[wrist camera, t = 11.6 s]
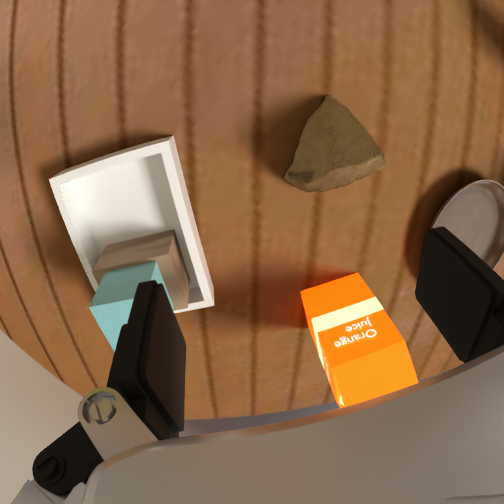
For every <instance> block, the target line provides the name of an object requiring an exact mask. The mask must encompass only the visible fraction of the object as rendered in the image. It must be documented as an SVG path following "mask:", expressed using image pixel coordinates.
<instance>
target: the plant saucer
mask: <svg viewBox="0 0 504 504" xmlns="http://www.w3.org/2000/svg"><path fill="white" fill-rule="evenodd" d="M441 226H443V227H445V228H447V229H448V230H449V231H450V232H451V233H452V234H454V235H455V236H456V237H457V238H458V239H459V240H461V241H462V242H463V243H464V244H465V245H466V246H467V247H469V248H470V249H471V250H472V251H473V252H474V253H475V254H476V255H478V256H479V257H480V258H481V259H482V260H483V261H484V262H485V263H486V264H487V265H488V266H489V267H490V268H491V269H494V268H495V267H496V265H497V264H498V262H499V260H500V259H501V257H502V255H503V253H504V187H503V186H502V185H501V184H499V183H498V182H496V181H493V180H487V179H486V180H478V181H475V182H472V183H469V184H467V185H465V186H463V187H462V188H460V189H459V190H457V191H456V192H455V193H453V194H452V195H451V196H450V197H449V198H448V199H447V200H446V202H445V203H444V204H443V205H442V207H441V208H440V209H439V211H438V212H437V214H436V216H435V217H434V219H433V221H432V224H431V226H430V228H429V229H431V228H436V227H441Z"/></svg>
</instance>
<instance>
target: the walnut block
mask: <svg viewBox="0 0 504 504" xmlns="http://www.w3.org/2000/svg"><path fill="white" fill-rule="evenodd" d="M154 261H156V262H157V265H158V267H159V270H160V273H161V275H162V278H163V281H164V283H165V286H166V288H167V291H168V293H169V296H170V298H171V301H172V303H173V306H174V310H173V311H175V310H180V309H185V308H188V298H189V285H190V277H189V274H188V271H187V268H186V265H185V262H184V259H183V255H182V252H181V249H180V246H179V243H178V239H177V236H176V233H175V230H174V229H173V230H169V231H164V232H160V233H156V234H152V235H147V236H143V237H139V238H135V239H131V240H127V241H123V242H119V243H115V244H111V245H107V246H106V247H105V249H104V250H103V252H102V254H101V256H100V257H99V259H98V261H97V263H96V264H95V266H94V268H93V270H92V273H93V275H94V277H95V280H96V282H97V284H98V286H99V284H100V282H101V280H102V278H103V276H104V274H105V272H110V271H114V270H118V269H123V268H127V267H132V266H136V265H141V264H145V263H149V262H154Z"/></svg>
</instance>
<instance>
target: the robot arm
mask: <svg viewBox="0 0 504 504" xmlns="http://www.w3.org/2000/svg"><path fill="white" fill-rule="evenodd" d="M415 295H416V299H417V301H418V302H419V303H420V305H421V306H422V307H423V309H424V310H425V311H426V313H427V314H428V315H429V317H430V318H431V320H432V321H433V322H434V324H435V325H436V327H437V328H438V329H439V331H440V332H441V334H442V335H443V336H444V338H445V339H446V341H447V342H448V344H449V345H450V347H451V348H452V350H453V351H454V353H455V354H456V356H457V357H458V358H459V360H461V361H463V362H464V363H465V364H463V365H460V366H458V367H456V368H454V369H451V370H449V371H447V372H444V373H442V374H439V375H437V376H435V377H432V378H430V379H427V380H424V381H422V382H419V383H417V384H414V385H411V386H409V387H406V388H403V389H400V390H397V391H394V392H392V393H389V394H386V395H383V396H379V397H376V398H373V399H370V400H367V401H363V402H360V403H357V404H353V405H350V406H346V407H343V408H339V409H335V410H331V411H327V412H324V413H320V414H315V415H311V416H307V417H302V418H298V419H293V420H289V421H284V422H278V423H273V424H268V425H262V426H256V427H250V428H244V429H238V430H232V431H225V432H218V433H210V434H201V435H194V436H187V437H179V431H183V430H184V397H185V364H186V343H185V340H184V337H183V334H182V332H181V330H180V327H179V325H178V322H177V320H176V317H175V314H174V312H173V309H172V307H171V304H170V302H169V299H168V296H167V294H166V291H165V288H164V286H163V284H162V283H159V284H158V283H157V281H156V280H151V281H145V282H140V283H138V286H137V289H136V293H135V296H134V300H133V303H132V307H131V311H130V314H129V318H128V322H127V324H124V325H122V327H121V330H120V333H119V337H118V341H117V345H116V349H115V353H114V357H113V361H112V365H111V369H110V374H109V378H108V383H107V387H101V388H97V389H94V390H92V391H90V392H89V393H88V394H87V395H85V396H84V397H83V399H82V401H81V402H80V404H79V407H78V418H79V420H80V421H79V422H78V423H77V424H75V425H74V426H73V427H72V428H70V429H69V430H68V431H67V432H65V433H64V434H63V435H62V436H60V437H59V438H58V439H57V440H55V441H54V442H53V443H52V444H50V445H49V446H48V447H46V448H45V449H44V450H43V451H41V452H40V453H39V454H38V455H37V457H36V459H35V460H34V463H33V468H32V470H33V476H34V479H33V480H32V481H30V480H27V482H26V483H25V484H24V486H23V487H22V489H21V490H20V492H19V493H18V495H17V496H16V497H15V499H14V500H13V502H12V503H11V504H504V280H503V279H502V278H501V277H500V276H499V275H498V274H497V273H496V272H495V271H494V270H493V269H491V268H490V267H489V266H488V265H487V264H486V263H485V262H484V261H483V260H482V259H481V258H480V257H479V256H478V255H476V254H475V253H474V252H473V251H472V250H471V249H470V248H469V247H467V246H466V245H465V244H464V243H463V242H462V241H461V240H459V239H458V238H457V237H456V236H455V235H454V234H452V233H451V232H450V231H449V230H448V229H447V228H445V227H443V226H441V227H436V228H431V229H429V231H428V233H427V234H426V235H425V238H424V245H423V251H422V257H421V263H420V269H419V274H418V280H417V285H416V290H415Z"/></svg>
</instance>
